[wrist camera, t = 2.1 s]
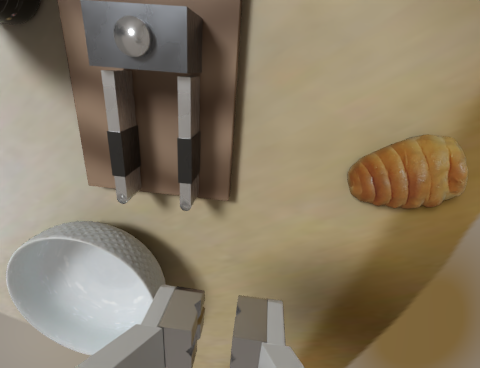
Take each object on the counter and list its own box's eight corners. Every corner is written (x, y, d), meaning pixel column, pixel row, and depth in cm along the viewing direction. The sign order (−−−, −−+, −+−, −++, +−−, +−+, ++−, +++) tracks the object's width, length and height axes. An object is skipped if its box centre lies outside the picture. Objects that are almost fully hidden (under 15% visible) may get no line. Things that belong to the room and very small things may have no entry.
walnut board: (62, -45, 22) (48, -53, 21) (244, -36, 21) (242, -43, 20) (96, 180, 30) (88, 185, 29) (230, 194, 29) (227, 200, 28)
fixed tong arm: (120, 70, 23) (98, 70, 20) (133, 71, 23) (114, 71, 20) (132, 189, 28) (115, 203, 25) (143, 190, 28) (128, 204, 25)
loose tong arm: (187, 75, 23) (175, 76, 20) (201, 76, 23) (191, 77, 20) (188, 195, 28) (178, 210, 25) (199, 196, 28) (191, 212, 25)
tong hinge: (115, 12, 22) (74, -3, 17) (202, 18, 21) (184, 4, 17) (121, 66, 23) (84, 65, 19) (201, 72, 23) (184, 73, 18)
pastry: (348, 208, 28) (359, 227, 25) (341, 147, 26) (352, 159, 23) (446, 192, 27) (473, 210, 23) (448, 126, 24) (478, 135, 21)
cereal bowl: (68, 177, 30) (14, 207, 24) (200, 243, 32) (182, 287, 25) (42, 276, 37) (-6, 320, 30) (152, 326, 39) (128, 378, 32)
